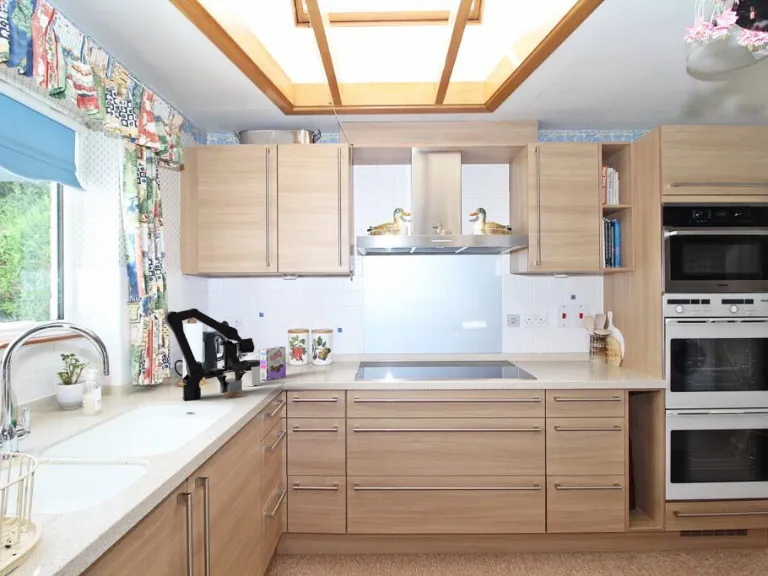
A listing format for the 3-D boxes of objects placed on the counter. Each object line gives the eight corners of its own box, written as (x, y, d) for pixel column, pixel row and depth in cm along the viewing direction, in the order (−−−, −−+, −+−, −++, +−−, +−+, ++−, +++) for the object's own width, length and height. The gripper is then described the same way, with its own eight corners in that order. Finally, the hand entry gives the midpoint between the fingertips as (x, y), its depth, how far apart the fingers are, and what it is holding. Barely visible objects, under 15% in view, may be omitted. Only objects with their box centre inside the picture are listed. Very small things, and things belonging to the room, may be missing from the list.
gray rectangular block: (230, 395, 203) (230, 382, 203) (220, 393, 208) (220, 380, 208) (242, 393, 207) (241, 380, 207) (232, 391, 212) (231, 378, 212)
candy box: (267, 381, 235) (266, 349, 235) (259, 380, 238) (258, 348, 238) (286, 376, 246) (285, 346, 246) (278, 375, 249) (278, 345, 249)
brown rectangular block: (225, 398, 196) (225, 393, 196) (224, 397, 198) (224, 392, 198) (242, 396, 200) (242, 391, 200) (241, 395, 202) (240, 390, 202)
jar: (264, 383, 228) (264, 359, 228) (256, 387, 220) (256, 362, 220) (248, 383, 230) (247, 359, 230) (239, 386, 222) (239, 361, 222)
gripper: (221, 358, 195) (222, 395, 195) (258, 353, 210) (259, 387, 210) (207, 356, 202) (208, 391, 202) (244, 351, 217) (244, 384, 217)
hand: (231, 388), depth 207 cm, fingers open, 6 cm apart
